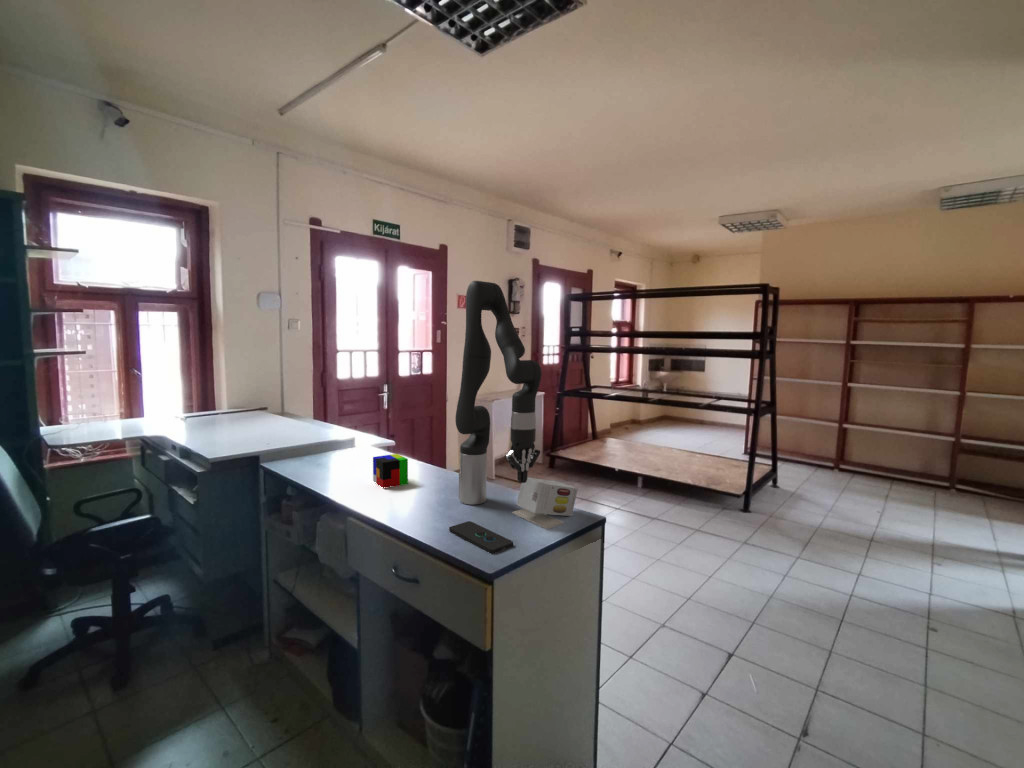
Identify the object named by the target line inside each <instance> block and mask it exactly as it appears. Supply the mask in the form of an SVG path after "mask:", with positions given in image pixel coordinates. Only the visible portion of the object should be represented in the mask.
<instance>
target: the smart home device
mask: <svg viewBox="0 0 1024 768" xmlns="http://www.w3.org/2000/svg"><path fill="white" fill-rule="evenodd" d="M449 531H450V532H449ZM448 532H449V533H451V534H453V535H454V534H455V535H454V536H456V535H457V537H458V536H459V538H460V537H461V538H460V539H462V540H463V541H466V542H468V543H469V542H470V543H469V544H471V543H472V544H471V545H473V546H475V547H477V548H479V549H481V550H482V551H484V550H485V552H486V553H488V552H489V553H488V554H490V553H491V555H493V554H497V553H499V552H503V551H504V550H507V549H509V548H510V549H511V548H513V547H514V541H513V540H510V539H509V538H506V537H504V536H502V535H501V534H499V533H497V532H495V531H492V530H490V529H488V528H485V527H484V526H482V525H480V524H477V523H475V522H474V521H471V520H470V521H469V520H468V521H464V522H461V523H458V524H455V525H452V526H449V528H448Z"/></svg>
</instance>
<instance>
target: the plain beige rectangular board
mask: <svg viewBox="0 0 1024 768" xmlns="http://www.w3.org/2000/svg"><path fill="white" fill-rule="evenodd" d="M514 514H515V516H516V517H519V518H521V519H523V518H524V519H523V520H525V519H526V520H525V521H528V522H529V523H532V524H534V525H536V526H538V525H539V527H541V528H543V529H545V530H549V529H552V528H554V527H557V526H561V525H563V524H564V521H563V520H559V519H557V518H555V517H553V516H550V515H549V514H539V513H533V512H531V511H528V510H526V509H524V508H521V509H519V510H517V509H516V510H514V511H512V515H514Z"/></svg>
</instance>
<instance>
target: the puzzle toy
mask: <svg viewBox="0 0 1024 768" xmlns="http://www.w3.org/2000/svg"><path fill="white" fill-rule="evenodd" d="M408 461H409V458H407V457H405V456H403V455H402V454H399V453H394V454H393V453H392V454H385V455H379V456H373V457H372V477H373V478H372V482H373V481H374V482H376V483H377V484H378V485H377V484H376V483H375V484H376V485H377V486H379V485H380V486H381V487H383V488H382V489H385V488H384V487H389V488H391V487H390V486H394V487H399V485H400V486H404V485H408V483H409V475H408V474H409V472H408V470H409V469H408V468H409V467H408V466H409V462H408ZM374 482H373V483H374ZM380 486H379V487H380ZM381 487H380V488H381Z"/></svg>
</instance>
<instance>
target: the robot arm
mask: <svg viewBox="0 0 1024 768" xmlns="http://www.w3.org/2000/svg"><path fill="white" fill-rule="evenodd" d="M483 311H489V312H491V313H492V314H493V316H494V317H495V319H496V325H495V330H494V331H495V332H494V338H495V341H496V344H497V346H498V347H499V351H500V352H501V355H502V356H503V360H504V361H503V363H504V367H505V374H506V377H507V379H508V380H509V381H510V382H511V383H512V384H515V385H522V388H521V389H520V390H518V391H516V392H514V393H513V394H512V398H511V416H510V441H511V446H510V451H509V452H508V453H505V454H504V459H505V460H506V461H507V463H508V465H510V467H511V469H513V470H516V471H517V473H516V475H517V478H516V479H517V482H518V483H520V484H521V483H525V482H526V481H527V477H528V474H529V473H528V471H529V469H530V468H531V469H532V468H533V467H534V465H535V463H536V462H537V459H538V458H539V456H540V455H541V450H539V449H537V448H536V445H535V442H536V432H537V431H536V430H537V425H536V423H537V417H536V397H537V395H538V390H539V388H540V384H541V379H542V371H543V370H542V368H541V365H540V364H539V362H538V361H537V360H534V359H533V360H532V359H525V360H521V358H522V357H523V356H524V355H525V353H526V348H525V345H524V344H523V342H522V340H521V338H520V336H519V334H518V332H517V330H516V328H515V325H514V323H513V321H512V316H511V314H510V311H509V307H508V305H507V300H506V297H505V295H504V292H503V290H502V287H501V286H500V285H499V284H497V283H495V282H490V281H482V280H473V281H471V282H470V283H469V284H468V287H467V289H466V295H465V334H464V335H465V337H464V347H463V356H462V369H461V370H462V371H461V380H460V388H459V389H460V390H459V395H458V401H457V404H456V411H455V426H456V427H455V428H456V429H457V431H458V432H459V433H460V434H461V435H469V436H468V438H467V439H466V440H464V441H463V442H462V443H461V444H460V446H459V452H460V453H459V455H460V456H459V458H460V459H459V461H460V462H459V472H458V499H459V501H460V503H462V504H465V505H481V504H484V503H486V501H487V481H488V480H487V478H488V475H487V472H488V469H487V465H488V464H487V462H488V456H487V455H488V446H489V444H490V436H491V435H490V434H491V432H490V431H491V417H490V413H489V411H488V409H487V407H486V406H483V405H476V399H477V394H478V392H479V390H480V389H481V386H482V385H483V383H484V382H485V380H486V378H487V377H488V374H489V373H490V368H491V361H492V348H491V345H490V343H489V340H488V337H486V334H485V331H484V329H483V324H482V323H483V322H482V313H483Z"/></svg>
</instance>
